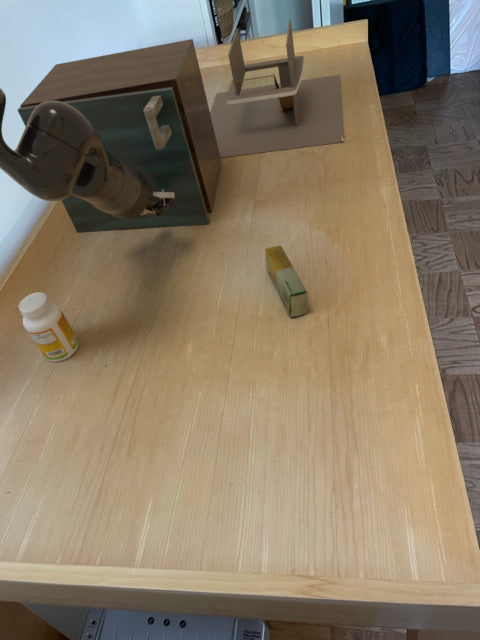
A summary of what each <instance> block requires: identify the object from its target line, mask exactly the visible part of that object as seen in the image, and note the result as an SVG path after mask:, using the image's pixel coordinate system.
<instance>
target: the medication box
mask: <svg viewBox="0 0 480 640" xmlns="http://www.w3.org/2000/svg"><path fill="white" fill-rule="evenodd" d="M264 252H265V253H264V254H265V270H266V271H267V273H268V276H269V277H270V280H271V281H272V284H273V285H274V287H275V290H276V292H277V294H278V296H279V298H280V300H281V302H282V304H283V306H284V308H285V310H286V312H287V314H288V316H289V318H290V319H291V318H298V317H302V316H305V315H307V314H308V299H309V298H308V296H309V295H308V294H309V292H308V290H307V289H306V287H305V285H304V283H303V281H302V280H301V278H300V276H299V274H298V272H297V271H296V270H295V268H294V266H293V264H292V262H291V260H290V259H289V257H288V255H287V254H286V252H285V250H284V248H283V246H282V245H275V246H274V245H273V246H270V247H267V248H264ZM306 313H307V314H306Z"/></svg>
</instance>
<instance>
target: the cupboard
mask: <svg viewBox="0 0 480 640" xmlns="http://www.w3.org/2000/svg"><path fill="white" fill-rule="evenodd" d="M169 87H173V90H174V94H175V98H176V101H177V105H178V108H179V112H180V116H181V119H182V123H183V126H184V130H185V134H186V137H187V141H188V145H189V148H190V152H191V155H192V159H193V163H194V166H195V170H196V174H197V177H198V181H199V184H200V188H201V192H202V195H203V199H204V203H205V206H206V210H207V213H208V214H212V213H213V210H214V205H215V200H216V195H217V191H218V185H219V182H220V181H219V180H220V177H221V172H222V167H223V162H222V158H221V157H220V153H219V149H218V145H217V140H216V136H215V132H214V128H213V123H212V119H211V115H210V112H211V110H210V107H209V102H208V97H207V93H206V90H205V86H204V82H203V77H202V72H201V69H200V64H199V60H198V55H197V52H196V47H195V44H194V39H193V38H191V39H185V40H180V41H174V42H169V43H164V44H157V45H153V46H148V47H141V48H137V49H131V50H126V51H121V52H116V53H115V52H114V53H110V54H105V55H100V56H95V57H88V58H82V59H78V60H72V61H67V62H61V63H57V64H55V65H54V66H53V67H52V68H51V69H50V70H49V71H48V73H47V74H46V75H45V76H44V77H43V79H41V81H39V83H38V84H37V85H36V86H35V88H34V89H33V90H32V91H31V92H30V93H29V94H28V96H27V97H26V98H25V99H24V100H23V102H22V103H21V104H20V106H19V108H20V107H26V106H34V105H39V104H41V103H43V102H46V101H60V102H64V101H71V100H79V99H86V98H94V97H101V96H109V95H117V94H124V93H132V92H139V91H147V90H154V89H162V88H169Z"/></svg>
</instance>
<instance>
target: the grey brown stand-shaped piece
mask: <svg viewBox="0 0 480 640" xmlns="http://www.w3.org/2000/svg"><path fill="white" fill-rule="evenodd" d="M285 48H286V55H287V57H285V58H278V59H273V60H265V61H261V62H254V63H248V64H245V60H244V54H243V48H242V44H241V37H240V32H239V28H236V29H235V32H234V35H233V38H232V41H231V44H230V46H229V50H228V53H227V57H228V62H229V66H230V71H231V76H232V80H231V83H230V86H229V90H228V91H223V92H216V94H215V97H214V100H213V104H212V106H211V110H210V115H211V119H212V123H213V128H214V132H215V136H216V140H217V145H218V149H219V153H220V157H221V159H222V158H229V157H236V156H244V155H252V154H260V153H268V152H276V151H283V150H292V149H299V148H307V147H317V146H323V145H324V146H325V145H330V144H331V145H332V144H339V143H341V142H340V141H341V140H342V136H344V138H343V139H344V140H345V128H344V127H345V126H344V114H343V101H342V100H343V99H342V88H341V87H342V84H341V74H334V75H333V74H332V75H326V76H321V77H320V76H319V77H314V78H308V79H303V72H304V64H305V56H304V55H295V46H294V37H293V28H292V20H291V18H289V19H288V26H287V34H286V42H285ZM273 68H277V69H278V76H279V83H278V80H277V77H276V75H275V73H273V74H269V75H263V76H257V77H251V78H245V76H246V73H248V72H255V71H259V70H268V69H273ZM272 77H273V79H272Z"/></svg>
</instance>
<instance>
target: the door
mask: <svg viewBox="0 0 480 640" xmlns="http://www.w3.org/2000/svg"><path fill="white" fill-rule="evenodd" d="M64 103H66V104H68V105H70V106H72V107H74V108H75V109H77V110H78V111H80V112H81V113H82V114H83V115H84V116H85V117H86V118H87V119H88V120H89V121H90V123H91V124H92V125H93V126H94V128H95V130H96V131H97V133H98V135H99V137H100V139H101V141H102V143H103V145H104V147H105V149H106V151H107V152H108V153H110V154H111V155H113V156H114V157H117V158H119V159H121V160H123V161H124V162H126V163H127V164H128V165H130V166H131V167H133V168H134V169H135V170H137V171H138V172H139V173H141V174H142V175H143V176H144V177H145V178H146V180H147V181H148V183H149V185H150V186H151V187H155V188H157V189H158V190H159V192H162V190H163V189H164V190H165V189H166V188H169V187H173V188H174V192H175V204H174V205H173V206H171V207H170V208H168V209H167V210H165V211H163V212H162V214H161V216H160V217H153V218H152V217H150V216H148V215H146V214H145V215H140V214H139V215H138V216H136V217H134V218H131V219H120V218H117V217H115V216H113V215H110V214H108V213H101V210H99V209H97V208H95V207H94V206H92V205H91V204H90V203H88V202H86V201H84V200H82V199H80V198H78V197H76V196H74V195H72V194H70V195H69V196H68V197H67V198H66V199H64V200H61V203H62V204H63V206H64V209H65V211H66V212H67V215H68V217H69V219H70V221H71V223H72V225H73V227H74V229H75V231H76V233H88V232H107V231H122V230H123V231H124V230H138V229H152V228H170V227H171V228H172V227H187V226H188V227H189V226H202V225H209V224H210V218H209V213H207V210H206V206H205V203H204V199H203V195H202V192H201V188H200V184H199V181H198V177H197V174H196V170H195V166H194V163H193V159H192V155H191V152H190V148H189V145H188V141H187V137H186V134H185V130H184V126H183V123H182V119H181V116H180V112H179V108H178V105H177V101H176V98H175V94H174V90H173V87H169V88H162V89H154V90H147V91H139V92H132V93H124V94H117V95H109V96H101V97H94V98H86V99H79V100H71V101H64ZM37 106H38V105H34V106H26V107H20V106H19V108H17V113H18V114H19V117H20V118H21V120H22V122H23V125H24V128H25V127H26V126H28V125H27V123H28V120H29V118H30V116H31V114H32V112H33V110H34V109H35V108H36V107H37Z"/></svg>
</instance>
